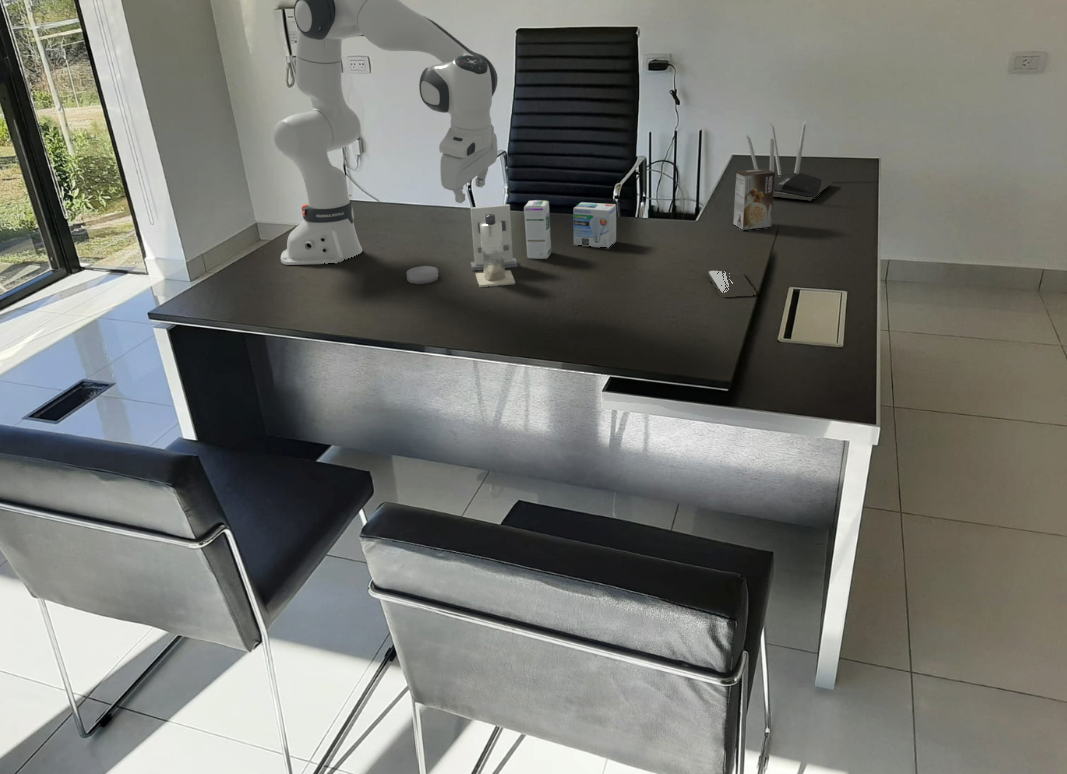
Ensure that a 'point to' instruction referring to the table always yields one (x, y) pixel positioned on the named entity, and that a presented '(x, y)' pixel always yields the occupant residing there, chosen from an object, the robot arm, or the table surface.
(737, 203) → the coffee box
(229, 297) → the table surface
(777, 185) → the wireless router
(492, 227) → the metal bottle
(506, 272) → the pad
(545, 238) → the syrup box
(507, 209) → the breaker panel
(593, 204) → the light bulb box
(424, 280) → the grey hockey puck
